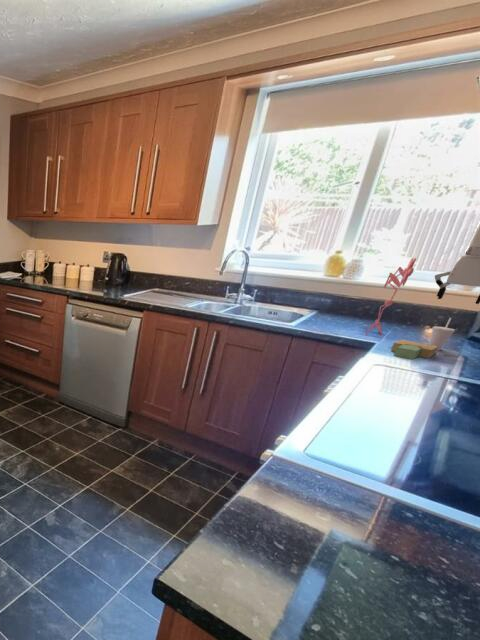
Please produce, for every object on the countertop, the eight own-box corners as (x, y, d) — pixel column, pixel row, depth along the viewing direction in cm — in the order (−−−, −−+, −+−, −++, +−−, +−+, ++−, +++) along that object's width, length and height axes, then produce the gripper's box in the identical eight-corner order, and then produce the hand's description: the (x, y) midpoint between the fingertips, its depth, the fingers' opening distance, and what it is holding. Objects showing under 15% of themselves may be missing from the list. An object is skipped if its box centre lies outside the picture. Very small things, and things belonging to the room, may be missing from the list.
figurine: (361, 336, 195) (393, 257, 182) (364, 327, 212) (393, 255, 199) (407, 343, 185) (444, 261, 172) (406, 334, 203) (439, 258, 190)
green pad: (419, 355, 167) (423, 347, 166) (412, 359, 161) (416, 350, 160) (400, 351, 171) (404, 343, 170) (393, 355, 166) (397, 347, 164)
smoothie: (448, 354, 171) (464, 320, 166) (428, 352, 173) (444, 318, 168) (437, 350, 177) (453, 317, 172) (418, 347, 179) (433, 315, 174)
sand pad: (434, 354, 170) (438, 346, 169) (428, 358, 164) (432, 349, 163) (397, 347, 178) (401, 339, 177) (390, 350, 172) (394, 342, 171)
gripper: (519, 255, 145) (494, 304, 152) (448, 250, 158) (427, 296, 165) (517, 255, 141) (491, 306, 148) (444, 250, 154) (423, 297, 161)
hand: (457, 301), depth 156 cm, fingers open, 9 cm apart
